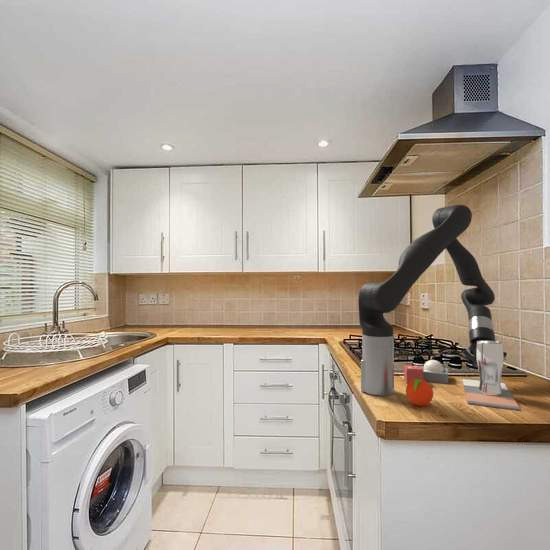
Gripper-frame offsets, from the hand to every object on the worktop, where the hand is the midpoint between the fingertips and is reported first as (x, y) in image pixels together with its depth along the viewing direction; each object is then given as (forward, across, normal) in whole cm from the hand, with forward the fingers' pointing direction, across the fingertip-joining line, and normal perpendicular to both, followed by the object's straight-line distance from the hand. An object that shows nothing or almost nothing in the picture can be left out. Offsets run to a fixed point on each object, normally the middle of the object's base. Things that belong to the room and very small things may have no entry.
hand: (486, 378), depth 108 cm
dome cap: (-3, -15, +9) cm, 18 cm away
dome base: (-3, -15, +9) cm, 18 cm away
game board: (+4, 0, +2) cm, 4 cm away
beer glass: (+5, +1, 0) cm, 5 cm away
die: (+2, -21, +3) cm, 21 cm away
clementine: (+18, -18, -13) cm, 29 cm away
